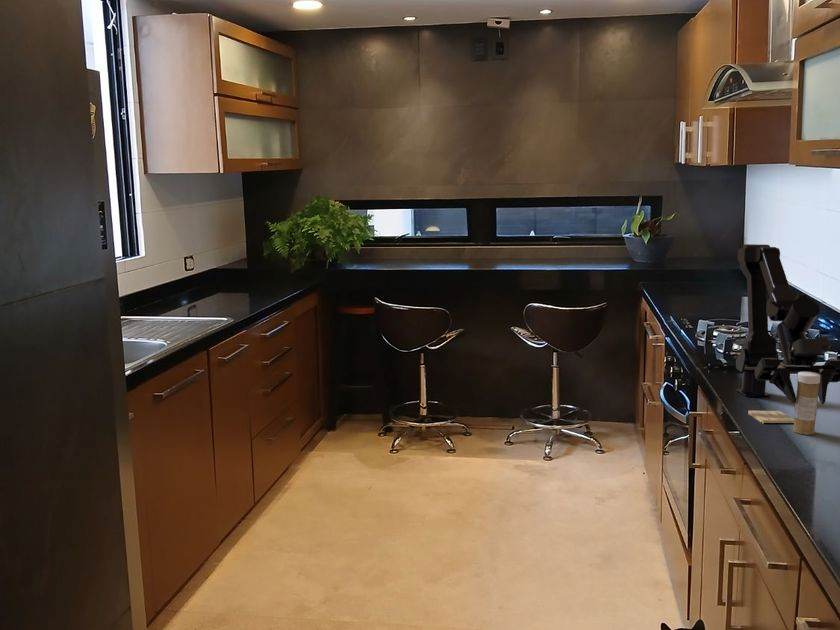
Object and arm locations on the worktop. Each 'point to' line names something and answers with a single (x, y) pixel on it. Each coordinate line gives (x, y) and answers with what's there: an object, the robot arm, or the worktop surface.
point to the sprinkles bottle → (806, 402)
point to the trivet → (771, 417)
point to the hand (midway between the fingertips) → (809, 403)
